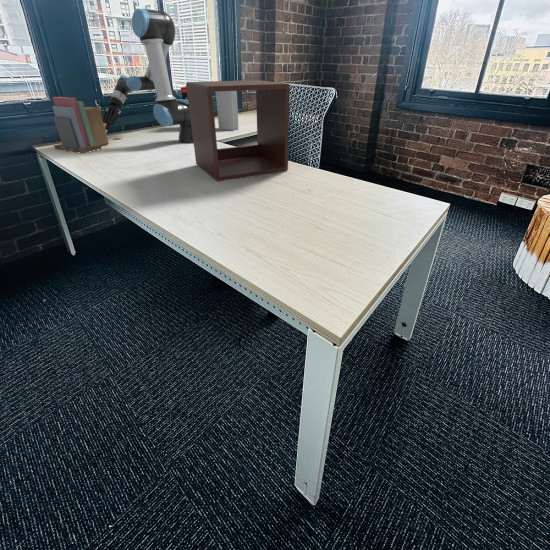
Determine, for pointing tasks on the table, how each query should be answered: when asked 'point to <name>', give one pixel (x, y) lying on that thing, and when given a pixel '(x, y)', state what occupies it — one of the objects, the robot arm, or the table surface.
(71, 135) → the row of books
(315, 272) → the table surface
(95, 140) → the wooden block
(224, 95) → the grey upright pillar
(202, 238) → the table surface
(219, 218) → the table surface
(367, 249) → the table surface
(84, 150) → the walnut shelf board
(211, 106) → the storage cube
